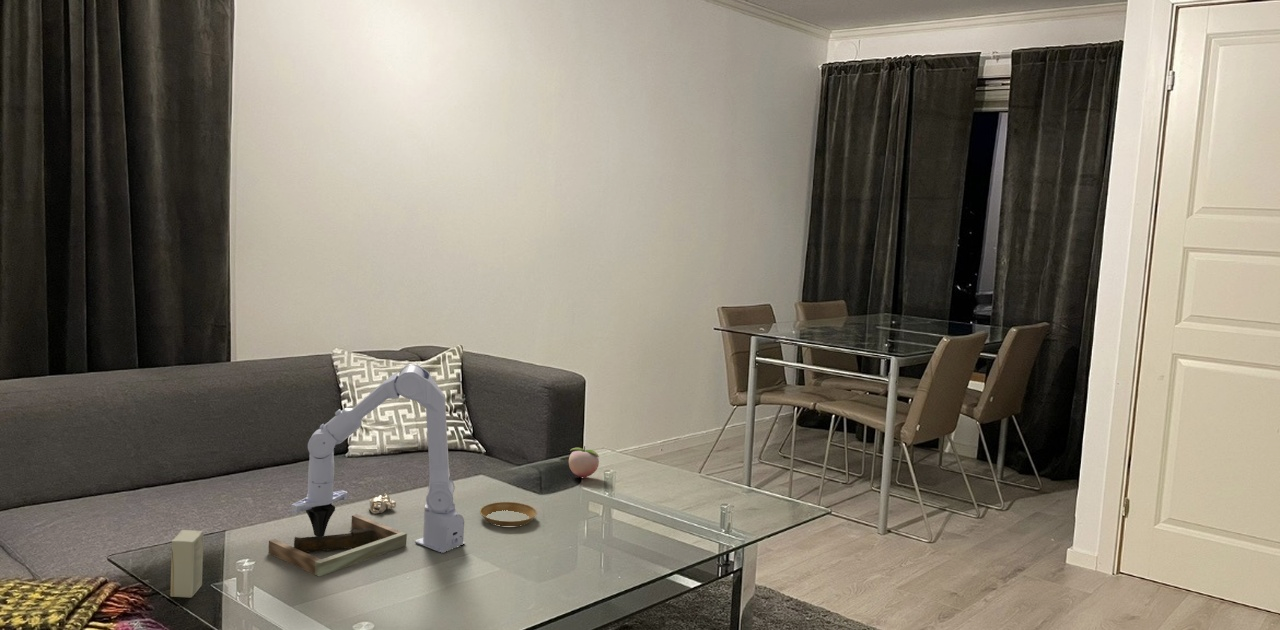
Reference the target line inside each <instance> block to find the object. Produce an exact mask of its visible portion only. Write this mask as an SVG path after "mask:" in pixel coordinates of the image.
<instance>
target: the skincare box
mask: <svg viewBox="0 0 1280 630" xmlns="http://www.w3.org/2000/svg"><path fill="white" fill-rule="evenodd" d="M170 555H171V558H170V560H171V561H170V565H171V566H170V597H172V598H173V597H174V598H190V599H191V598H193V597H194V595H195V594H196V593H197V592H198V591H199V589H200V588H201V587H202V586H203V559H204V557H203V556H204V530H196V529H195V530H194V529H193V530H192V529H181V530H180V531H179V532H178V533H177V535H175V536H174V538H173V539H172V540H171V554H170Z"/></svg>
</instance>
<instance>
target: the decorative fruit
mask: <svg viewBox="0 0 1280 630" xmlns="http://www.w3.org/2000/svg"><path fill="white" fill-rule="evenodd" d="M569 451H570V452H571V453H570V455H569V458H568V466H569V469H570V470H571V472H572V473H573V475H575V476H577V477H580V478H581V477H584V478H587V477H591V476H592V475H593V474H594V473H596V471H597V469H598V467H599V464H600V463H599V462H600V461H599V457H600V456H599V454H598V452H596V451H595V450H593V449H586V446H585V445H584V446H583V448H582V447H573V448H571V449H570V450H569Z"/></svg>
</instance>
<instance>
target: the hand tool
mask: <svg viewBox="0 0 1280 630" xmlns="http://www.w3.org/2000/svg"><path fill="white" fill-rule="evenodd" d="M377 540H380V539H379V538H378V536H377V534H376V532H375V531H374V530H373V529H370V528H366V529H352V530H351V532H349V533H339V534H329V535H324V536H316V535H314V536H306V537H304V536H303V537H298V536H295V537H294V539H293V541H294V542H293V547H294V548H296V549H298V550H301V551H303V552H305V553H311V552H319V551H330V550H332V551H333V550H339V549H354V548H357V547H360V546H363V545H366V544H369V543H372V542H374V541H377Z"/></svg>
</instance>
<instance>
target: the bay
mask: <svg viewBox="0 0 1280 630" xmlns="http://www.w3.org/2000/svg"><path fill="white" fill-rule="evenodd" d="M351 528H352V529H354V530H356V529H366V528H370V529H373V530H374V531H375V532H376V534H377V536H378V539H379V540H377V541H374V542H372V543H369V544H366V545H363V546H360V547H357V548H354V549H352V548H350V549H348V550H345V551H341V552H338V553H335V554H334V555H330V556H328V557H324V558H322V559H320V558H318V557H316V556H314V555H312V554H309V553H308V552H303V551H301V550H298V549H296V548H294V546H291V545H289V544H288V543H284V542H283V541H280V540H278V539H276V538H272V539H270V540H268V554H269V555H271V556H274V557H275V558H278V559H280V560H282V561H284V562H287V563H289V564H291V565H293V566H295V567H297V568H300V569H302V570H304V571H307V572H309V573H311V574H313V575H315V576H318V577H321V576H325V575H328V574H331V573H333V572H335V571H339V570H343V569H344V568H348V567H351V566H353V565H356V564H359V563H361V562H364V561H367V560H369V559H372V558H373V559H374V558H375V557H379V556H381V555H384V554H386V553H390V552H393V551H395V550H398V549H401V548H404V547H407V539H408V538H407V536H408V533H405V532H404V531H401V530H399V529H396V528H393V527H390V526H388V525H385V524H383V523H380V522H378V521H375V520H373V519H371V518H368V517H365V516H362V515H360V514H357V513H356V514H352V515H351Z"/></svg>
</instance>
